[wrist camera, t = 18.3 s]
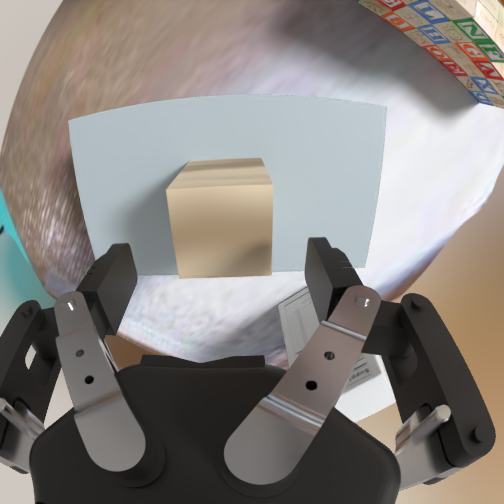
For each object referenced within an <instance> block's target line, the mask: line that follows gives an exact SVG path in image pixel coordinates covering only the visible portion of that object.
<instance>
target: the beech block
mask: <svg viewBox="0 0 504 504" xmlns="http://www.w3.org/2000/svg"><path fill="white" fill-rule="evenodd" d="M166 193H167V202H168V209H169V216H170V224H171V230H172V237H173V243H174V250H175V256H176V261H177V267H178V273H179V278H214V277H244V276H269V275H271V273H272V233H273V183H272V181H271V178H270V176H269V174H268V172H267V170H266V167H265V165H264V163H263V161H262V159H261V158H233V159H212V160H196V161H189V162H188V163H187V165H186V166H185V167H184V168H183V169H182V171H181V172H180V173H179V174H178V175H177V177H176V178H175V179H174V180H173V182H172V183H171V184H170V185H169V187H168V188H167V189H166Z"/></svg>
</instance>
